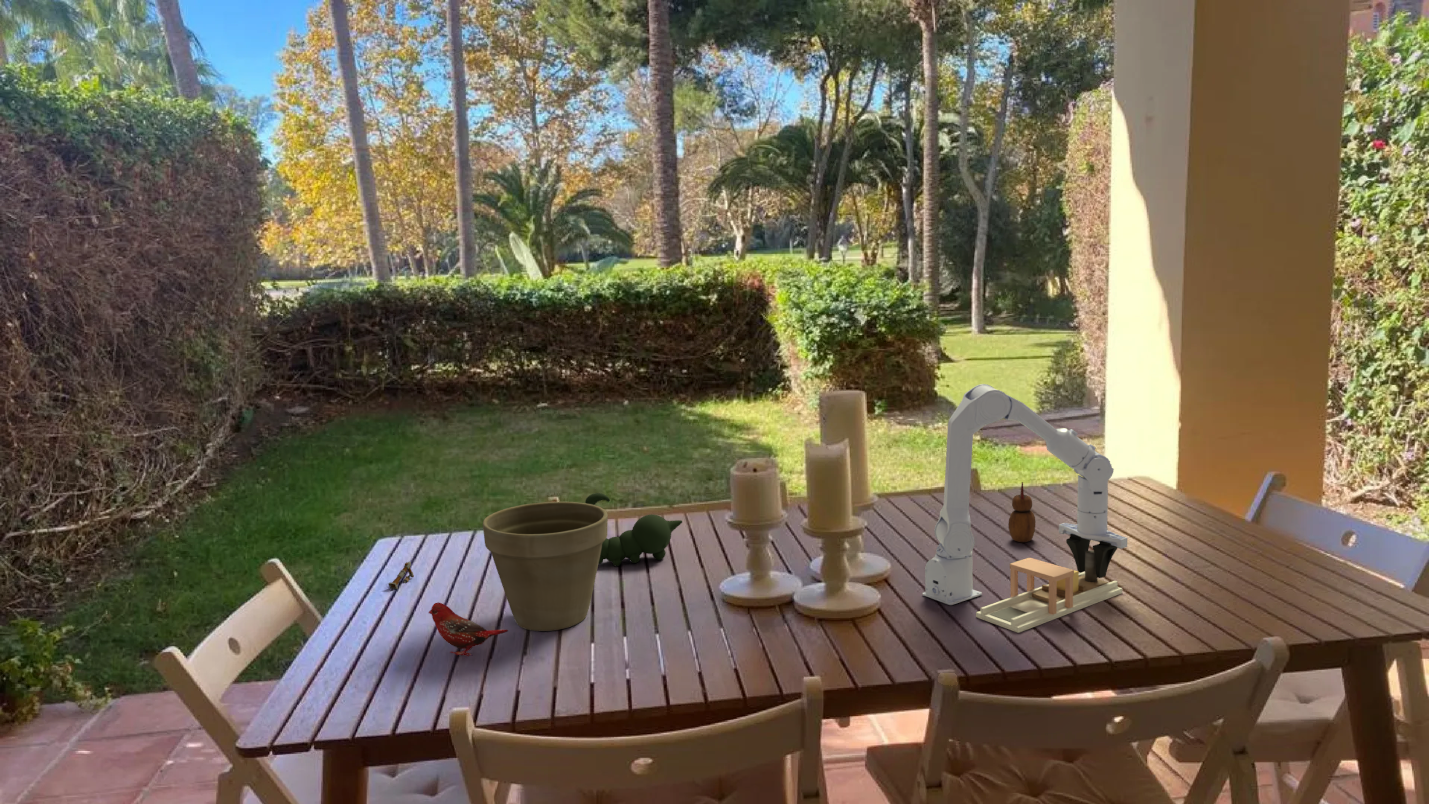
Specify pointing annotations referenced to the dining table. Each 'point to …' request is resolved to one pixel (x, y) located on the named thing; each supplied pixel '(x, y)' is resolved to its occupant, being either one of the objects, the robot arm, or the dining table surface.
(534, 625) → the plant pot
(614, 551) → the toy figurine
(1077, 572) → the block
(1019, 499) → the wooden figurine
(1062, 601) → the track
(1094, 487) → the robot arm
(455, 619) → the decorative bird figurine
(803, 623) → the dining table surface
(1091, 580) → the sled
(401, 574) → the wooden post with brackets
